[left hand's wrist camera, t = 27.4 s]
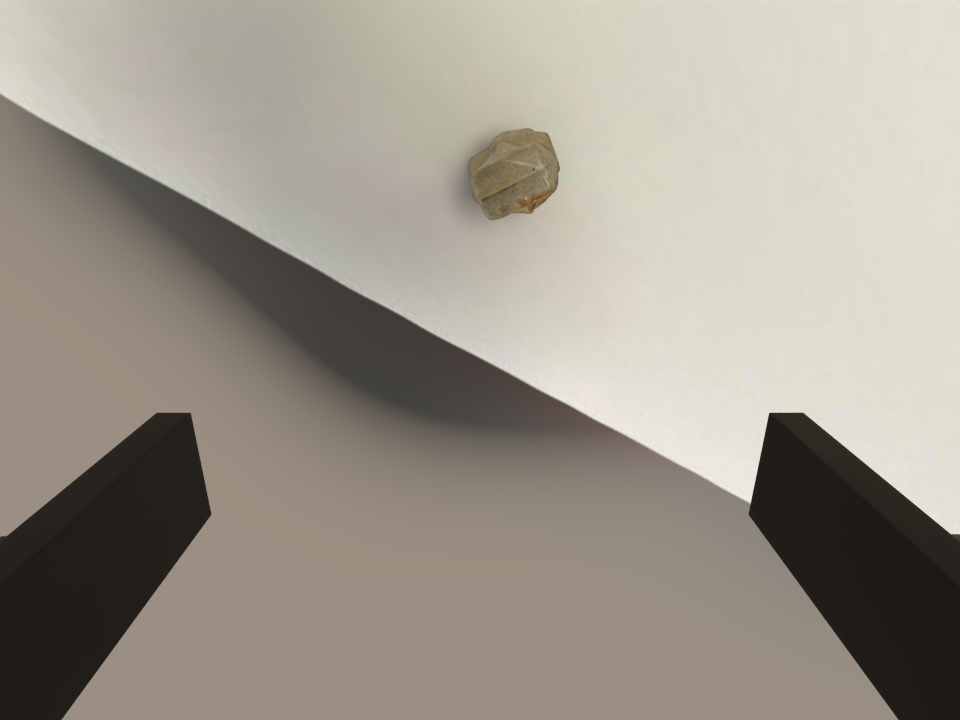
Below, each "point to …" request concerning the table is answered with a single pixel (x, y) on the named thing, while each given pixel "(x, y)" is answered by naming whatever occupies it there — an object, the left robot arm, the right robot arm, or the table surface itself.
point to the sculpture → (514, 173)
